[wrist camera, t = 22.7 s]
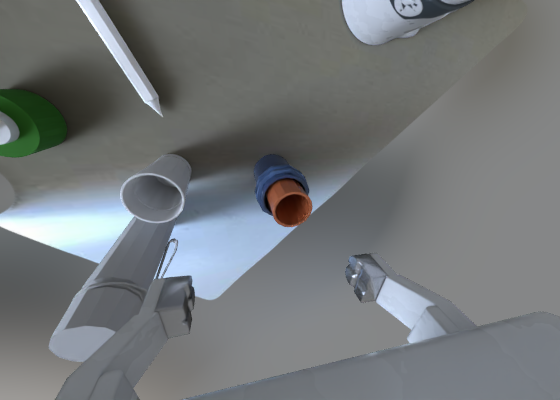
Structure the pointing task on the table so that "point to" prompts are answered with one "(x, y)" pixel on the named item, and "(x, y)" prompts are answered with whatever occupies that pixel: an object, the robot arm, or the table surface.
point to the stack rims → (271, 172)
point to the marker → (120, 51)
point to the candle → (28, 123)
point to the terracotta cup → (288, 202)
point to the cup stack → (263, 166)
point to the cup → (158, 190)
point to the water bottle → (113, 290)
